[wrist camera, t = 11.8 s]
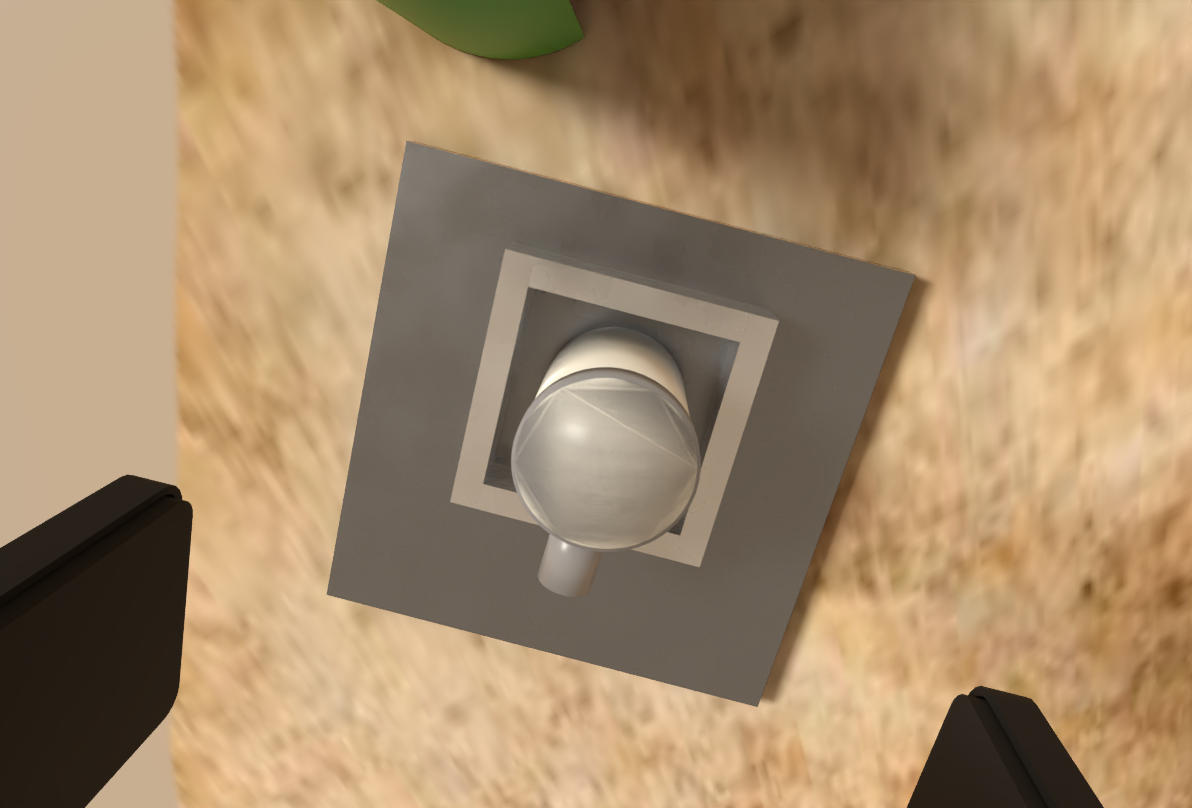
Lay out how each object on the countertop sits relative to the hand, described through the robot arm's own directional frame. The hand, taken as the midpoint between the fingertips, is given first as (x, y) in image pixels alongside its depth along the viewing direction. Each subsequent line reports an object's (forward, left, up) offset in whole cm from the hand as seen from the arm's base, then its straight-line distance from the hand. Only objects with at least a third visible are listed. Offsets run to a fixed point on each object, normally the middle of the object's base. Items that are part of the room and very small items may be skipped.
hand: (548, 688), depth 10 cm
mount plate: (0, +4, -22) cm, 22 cm away
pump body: (0, +3, -21) cm, 21 cm away
